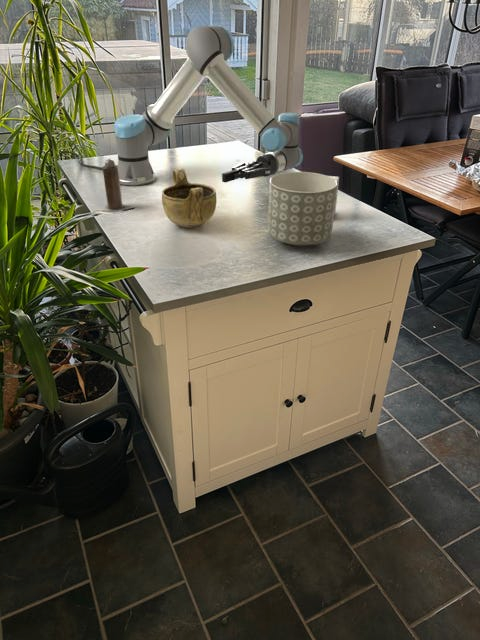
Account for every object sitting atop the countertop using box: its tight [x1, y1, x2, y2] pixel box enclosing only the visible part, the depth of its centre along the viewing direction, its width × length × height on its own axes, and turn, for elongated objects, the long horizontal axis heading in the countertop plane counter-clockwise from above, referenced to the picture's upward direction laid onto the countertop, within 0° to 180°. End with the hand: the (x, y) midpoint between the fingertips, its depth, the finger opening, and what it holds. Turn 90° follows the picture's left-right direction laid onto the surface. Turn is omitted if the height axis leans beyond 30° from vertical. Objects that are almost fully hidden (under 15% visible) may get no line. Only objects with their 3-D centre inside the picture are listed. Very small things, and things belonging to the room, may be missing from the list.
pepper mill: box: [101, 158, 124, 211], centre depth 170 cm, size 5×5×16 cm
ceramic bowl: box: [161, 168, 217, 228], centre depth 158 cm, size 22×17×15 cm
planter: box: [267, 171, 337, 248], centre depth 147 cm, size 19×19×18 cm
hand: (223, 178), depth 166 cm, fingers closed
